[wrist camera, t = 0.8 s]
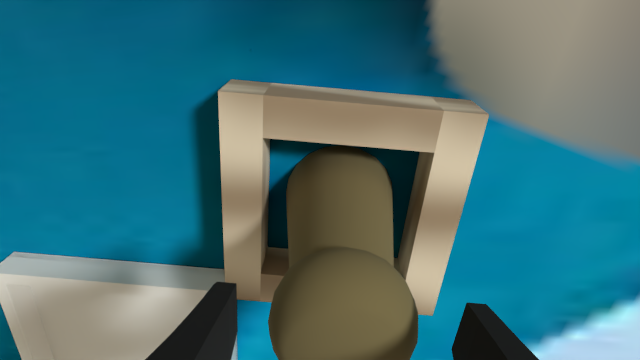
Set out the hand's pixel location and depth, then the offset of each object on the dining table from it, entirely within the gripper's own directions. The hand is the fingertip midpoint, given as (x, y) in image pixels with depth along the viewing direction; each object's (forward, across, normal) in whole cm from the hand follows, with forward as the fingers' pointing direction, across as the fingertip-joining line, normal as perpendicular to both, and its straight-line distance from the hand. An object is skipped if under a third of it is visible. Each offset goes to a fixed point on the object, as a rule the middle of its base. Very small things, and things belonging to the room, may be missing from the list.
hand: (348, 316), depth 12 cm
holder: (+10, 0, +1) cm, 10 cm away
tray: (+10, +13, +14) cm, 22 cm away
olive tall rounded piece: (+10, 0, +1) cm, 11 cm away
